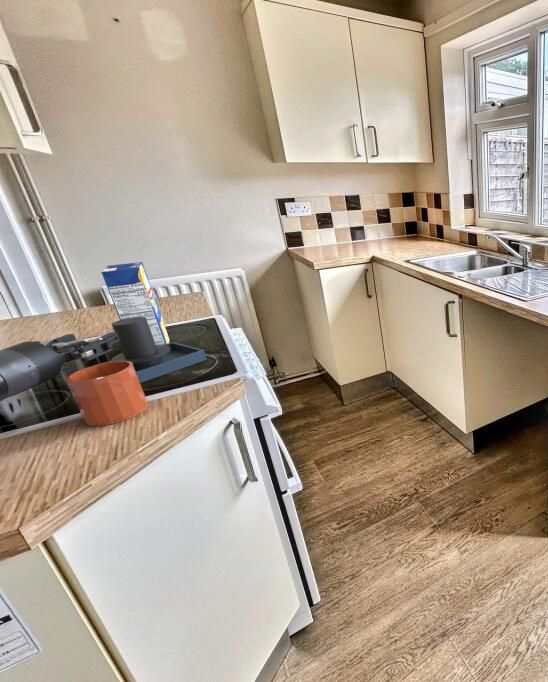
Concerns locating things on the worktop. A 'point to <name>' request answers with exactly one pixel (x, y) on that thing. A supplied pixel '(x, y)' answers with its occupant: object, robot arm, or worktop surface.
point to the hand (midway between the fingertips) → (95, 337)
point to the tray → (172, 361)
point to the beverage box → (135, 297)
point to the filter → (138, 343)
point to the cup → (108, 392)
